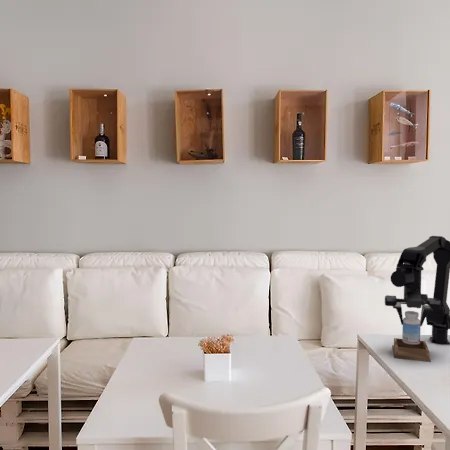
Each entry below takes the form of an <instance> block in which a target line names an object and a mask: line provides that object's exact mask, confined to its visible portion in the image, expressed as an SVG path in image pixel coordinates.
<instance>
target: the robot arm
mask: <svg viewBox="0 0 450 450" xmlns="http://www.w3.org/2000/svg"><path fill="white" fill-rule="evenodd" d="M431 254H432V255H433V260H434V262H435V264H436V271H435V279H434V289H433V297H428V294H427V293H422V271H424V270H425V269H424V267H423V265H424V264H425V263H426V261H427V257H428V256H430V255H431ZM449 280H450V240H447V239H446V238H445V237H444V236H442V235H441V236H440V235H431V236H429V237H428V239H426V240H424V241H422V243H420V244H419V245H417V246H413V247H407V248H404V249H403V251H402V252H401V254H400V256H399V260H398V262H397V264H396V268H395V271H393V272H392V273H391V275H390V282H391V284H392V285H393V286H395V287H396V288H401V287H403V298H397V296H396V295H390V294H389V295H388V294H386V295H385V296H384V306H386V307H392V309H395V310H396V312H397V314H398V316H399V321H400V324H401V326H403V319H404V317H403V312H402V311H403V309H402V308H403V307H402V305H406V307H407V308H409V309H410V308H412V309H413V308H415V309H421V312H420V319H419V320H420V322H421V325H420V327H422V326H423V325H424V322H425V321H426V325H428V326H431V336H429V340H430V342H431V343H432V344H441V345H442V344H443V345H450V341H449V339H448V336H449V335H448V334H449V330H450V307H449V305H448V303H447V301H448V290H449V283H450V282H449Z"/></svg>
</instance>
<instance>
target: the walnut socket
mask: <svg viewBox="0 0 450 450" xmlns="http://www.w3.org/2000/svg"><path fill="white" fill-rule="evenodd" d="M391 348H392V353H393V354H392V355H393V358H394V359H399V360H400V359H401V360H407V361H408V360H410V361H418V362H419V361H420V362H426V363H427V362H429V363H430V362H431V363H432V361H431V356H430V350H429V347H428V344H427V343H426V340H420V343H419V344H416V345H411V344H406V343H404V342H403V341H402V338H399V337H398V338H397V337H396V338H395V337H394V338H393V345H392V347H391Z"/></svg>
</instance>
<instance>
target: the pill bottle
mask: <svg viewBox="0 0 450 450" xmlns="http://www.w3.org/2000/svg"><path fill="white" fill-rule="evenodd" d="M404 316H405V317H403V325H402V334H401V335H402V337H401V339H402V341H403V342H404V343H406V344H411V345H416V344H419V343H420V341H421V326H420V325H421V322H420V319H419V317H420V316H419V312H418V311H415V310H414V311H413V310H407V311H405V312H404Z"/></svg>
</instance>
